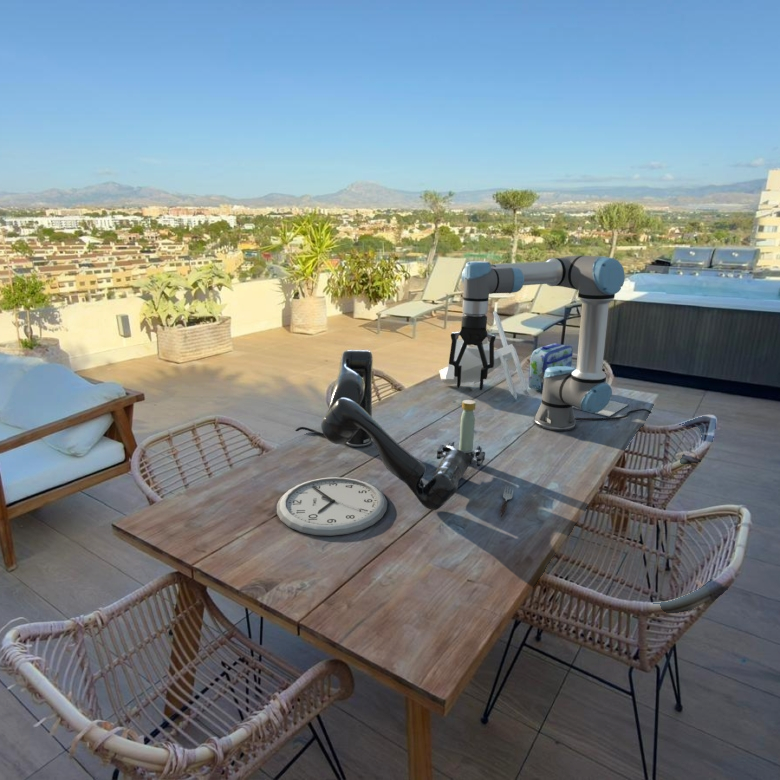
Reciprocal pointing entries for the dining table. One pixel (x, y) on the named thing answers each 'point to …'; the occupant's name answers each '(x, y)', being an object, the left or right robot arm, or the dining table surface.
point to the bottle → (467, 430)
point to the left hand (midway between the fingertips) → (466, 446)
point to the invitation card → (611, 408)
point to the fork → (506, 497)
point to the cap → (468, 405)
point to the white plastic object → (474, 364)
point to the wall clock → (331, 506)
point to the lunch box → (547, 362)
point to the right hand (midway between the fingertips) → (469, 387)
